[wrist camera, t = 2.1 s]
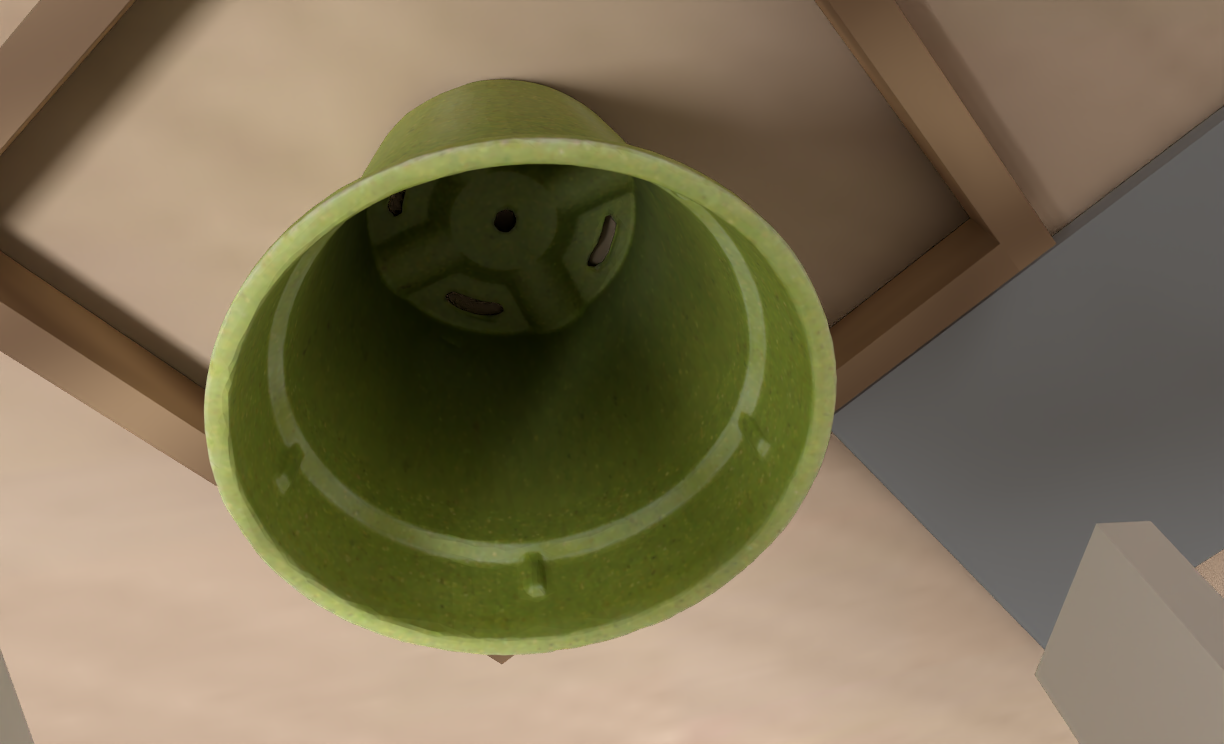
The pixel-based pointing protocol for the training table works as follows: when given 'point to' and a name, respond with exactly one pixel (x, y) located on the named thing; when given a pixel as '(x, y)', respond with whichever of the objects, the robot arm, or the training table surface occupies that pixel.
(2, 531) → the training table surface
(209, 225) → the training table surface
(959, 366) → the mat
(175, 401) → the tray frame
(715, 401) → the plant pot
